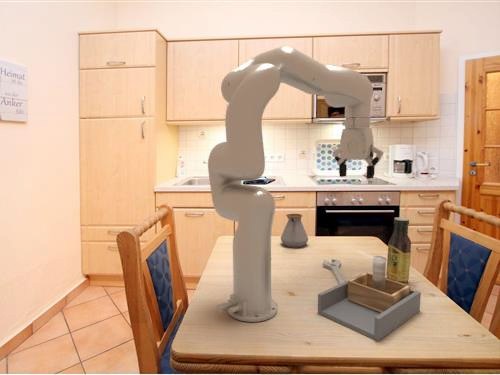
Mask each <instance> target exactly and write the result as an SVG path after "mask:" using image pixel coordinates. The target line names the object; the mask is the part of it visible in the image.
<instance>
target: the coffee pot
mask: <svg viewBox="0 0 500 375" xmlns="http://www.w3.org/2000/svg"><path fill="white" fill-rule="evenodd" d="M285 216H286V217H287V219H288V220H287V223H286V224H285V227H284V229H283V232H282V234H281V236H280V241H281V242H282V243H283V244H284V245H285V247H288V248H291V249H292V248H302V247H304V246H305V245H306V244H308V242H309V236H308V234H307V233H306V230H305V226H304V225H303V222H302V217H303V214H302V213H288V214H285Z"/></svg>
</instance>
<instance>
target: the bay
mask: <svg viewBox="0 0 500 375" xmlns="http://www.w3.org/2000/svg"><path fill="white" fill-rule="evenodd" d="M362 274H363V273H361V274H359V275H357V276H355V277H352V278H350V279H348V280H347V281H346V282H344V283H341V284H337V285H335V286H332V287H331V288H328V289H326V290H324V291H321V292H319V293H318V294H317V314H318V315H321V316H323V317H325V318H328V320H331V321H333V322H335V323H337V324H340V325H342V326H343V327H346V328H348V329H351V330H353V331H355V332H357V333H359V334H361V335H363V336H365V337H368V338H370V339H372V340H374V341H377V342H380V341H381V340H383V338H385V337H386V336H388V335H389V334H391V333H392V332H393V331H395V330H396V329H397V328H399V327H400V326H401V325H402V324H404V323H406V322H407V321H408V320H409V319H411V318H412V317H414V316H415V315H417V314H418V313H419V312H420V310H421V295H422V294H421V291H419V290H415V289H413V288H410V295H409V296H407V297H406V298H404V299H403V300H401V301H400V302H398V303H396V304H395V305H393V306H392V307H390V308H389V309H387V310H385V311H384V312H382V313H381V312H378V311H376V310H373V309H371V308H368V307H366V306H363V305H360V304H358V303H355V302H353V301H350V300H348V299H347V298H348V281H349V280H351V279H354V278H356V277H358V276H360V275H362Z"/></svg>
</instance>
